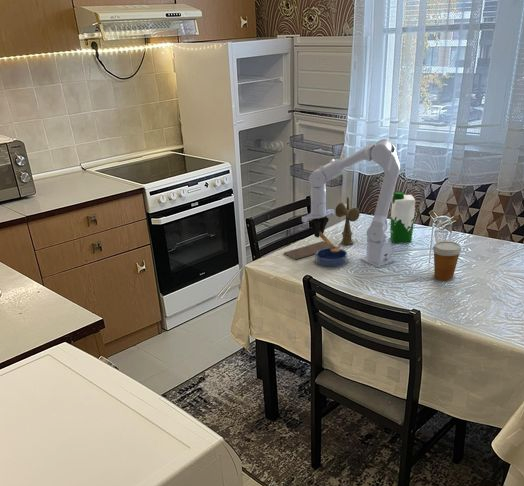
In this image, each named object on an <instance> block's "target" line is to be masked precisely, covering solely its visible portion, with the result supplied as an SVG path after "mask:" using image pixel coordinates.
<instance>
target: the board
mask: <svg viewBox="0 0 524 486" xmlns="http://www.w3.org/2000/svg"><path fill="white" fill-rule="evenodd" d="M326 248H330V247H329V246H328V245H327V244H326V243H325V242H324V240H322V241H319V242H315V243H311V244H308V245H304V246H301V247H298V248H295V249H291V250H287V251H285V252H283V255H285V256H287V257H289V258H291V259H293V260H295V261H298V260H302V259H305V258H308V257H311V256H315V253H316V252H317V251H319V250H321V249H326Z"/></svg>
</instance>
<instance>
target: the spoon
mask: <svg viewBox="0 0 524 486" xmlns="http://www.w3.org/2000/svg"><path fill="white" fill-rule="evenodd" d="M319 238H321V239H322V241H324V242H325V243H326V244H327V245H328V246H329V247H330V248H331V252H339V251H340V249H341V248H340V247H338V246H335V245H334V244H333V243H332V242H331V241H330V239H328V238H327V236H326V235H325V234H324V233H322V232H321V231H320V230H319Z"/></svg>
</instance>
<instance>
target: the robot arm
mask: <svg viewBox="0 0 524 486" xmlns="http://www.w3.org/2000/svg"><path fill="white" fill-rule="evenodd" d="M362 161H367V162H371V161H373V162H374V163H375V164H377V165H378V166H380V167H381V168H382V170H383V171H384V176H383V180H382V184H381V188H380V191H379V194H378V195H379V196H378V198H377V203H376V207H375V210H374V215H373V217H372V220H371V223H370V225H369V227H368V228H367V229H366V253H365V257H362V258H361V261H364V262H367V263H369V264H371V265H373V266H375V267H380V266H383V265H386V264H389V263H393V259H392V253H393V245H392V244H391V243H390V242H389V241H388V239H387V236H386V231H387V229H388V224H387V223H388V222H387V221H388V215H389V210H390V208H391V204H392V196H394V192H395V188H396V185H397V182H398V178H399V174H400V170H401V164H400V161H399V158H398V155H397V148H396V147H395V145H394V144H393V142H391V141H390V140H389V139H386V138H382V139H379V140H378V141H377V143H376V141H375V142H372V143H369V144H368V145H366V146H364V147H362V148H360V149H359V150H357V151H355V152H354V153H352V154H350V155H348V156H347V157H345V158H343V159H339V158H336V159H334V158H332V159H330V160H329V163H327V164H325V165H321V166H319V167H318V168H317V169H315V170H314V171H313V172H311V173H310V174H309V176H308V184H309V185H310V213H307V214H305V215H304V216H301V222H302V223H305V224H307V223H309V224H310V226H311V228H312V231H313V234H314V237H315V238H318V239H319V238H320V236H319V230H320V231H321V232H322V233H323V234H324V232H325V230H326V226H327V224H328V223H329V221H330V220H329V218H328V217H330V216H335V215H336V213H335V210H336V209H333V208H330V209H327V188H326V187H327V186H326V184H327V182H330V181H332V180H334V179H336V178H338V177H339V176H342V175H343V174H344V173H345V170H346V169H347V168H350V167H351V166H353V165H356V164H357V163H358V164H359V163H360V162H362Z"/></svg>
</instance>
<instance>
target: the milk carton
mask: <svg viewBox="0 0 524 486" xmlns="http://www.w3.org/2000/svg"><path fill="white" fill-rule="evenodd" d="M415 211H416V199H415V197H414V196H413V194H405V192H404V191H401V190H400V191H399V190H398V191H394V192H393V196H392V200H391V211H390V226H389V231H390V239H391V241H392V243H393V244H404V243H412V238H413V232H414V222H415Z"/></svg>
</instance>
